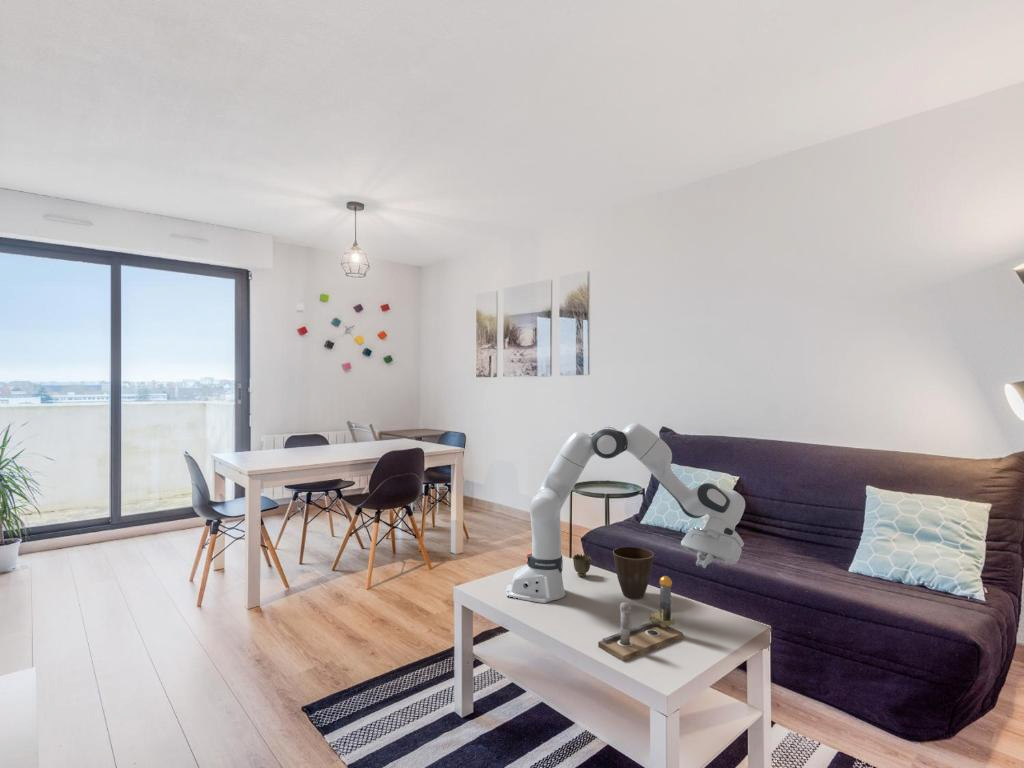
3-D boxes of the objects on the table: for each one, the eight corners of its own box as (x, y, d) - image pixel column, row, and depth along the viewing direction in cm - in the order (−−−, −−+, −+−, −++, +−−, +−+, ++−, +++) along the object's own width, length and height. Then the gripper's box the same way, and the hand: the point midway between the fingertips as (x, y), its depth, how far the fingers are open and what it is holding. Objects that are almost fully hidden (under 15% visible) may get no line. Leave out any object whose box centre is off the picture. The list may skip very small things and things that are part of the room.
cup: (587, 580, 207) (587, 560, 207) (570, 577, 210) (570, 557, 210) (593, 574, 213) (593, 555, 213) (576, 571, 217) (576, 552, 217)
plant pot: (645, 607, 181) (645, 561, 181) (606, 597, 189) (606, 553, 190) (659, 593, 193) (659, 551, 194) (621, 585, 202) (621, 544, 202)
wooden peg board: (657, 625, 166) (657, 583, 166) (682, 637, 158) (682, 593, 158) (598, 646, 152) (598, 601, 152) (623, 661, 143) (623, 613, 144)
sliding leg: (658, 619, 166) (658, 570, 166) (675, 627, 161) (675, 576, 161) (649, 623, 163) (649, 573, 164) (665, 630, 158) (665, 579, 159)
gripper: (688, 520, 184) (670, 552, 179) (740, 533, 167) (723, 569, 162) (695, 531, 187) (678, 563, 181) (748, 545, 170) (731, 580, 164)
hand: (700, 566), depth 171 cm, fingers closed
